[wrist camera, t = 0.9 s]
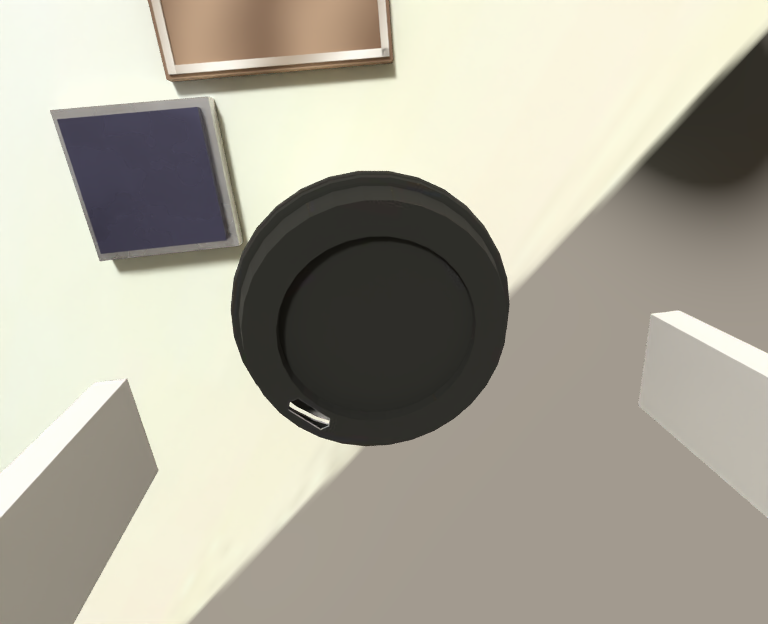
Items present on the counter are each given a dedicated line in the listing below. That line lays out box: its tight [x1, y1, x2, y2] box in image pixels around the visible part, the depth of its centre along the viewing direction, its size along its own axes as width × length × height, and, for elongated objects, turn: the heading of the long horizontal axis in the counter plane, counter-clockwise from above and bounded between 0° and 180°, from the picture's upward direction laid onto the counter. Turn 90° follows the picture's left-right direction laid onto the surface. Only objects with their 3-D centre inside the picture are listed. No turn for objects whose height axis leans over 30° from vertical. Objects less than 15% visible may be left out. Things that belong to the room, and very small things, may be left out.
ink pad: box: [50, 97, 243, 261], centre depth 25 cm, size 8×8×2 cm
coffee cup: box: [231, 171, 509, 446], centre depth 21 cm, size 10×10×15 cm
